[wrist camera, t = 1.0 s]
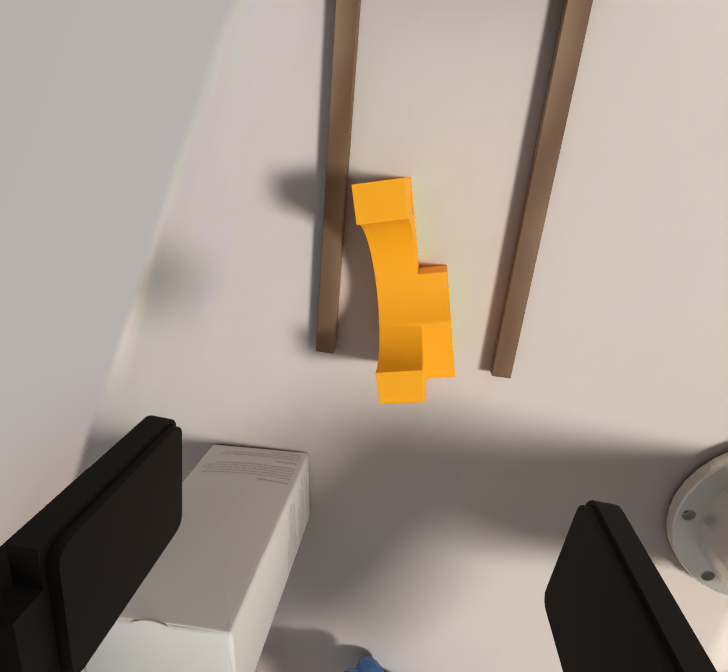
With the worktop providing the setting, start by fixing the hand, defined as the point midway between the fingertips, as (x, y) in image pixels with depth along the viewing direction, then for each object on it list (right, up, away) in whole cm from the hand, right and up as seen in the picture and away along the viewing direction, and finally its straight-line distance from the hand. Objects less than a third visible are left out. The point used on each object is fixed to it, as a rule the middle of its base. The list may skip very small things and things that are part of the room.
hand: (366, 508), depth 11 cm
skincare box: (-8, -7, +26) cm, 29 cm away
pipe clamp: (+3, +8, +19) cm, 21 cm away
